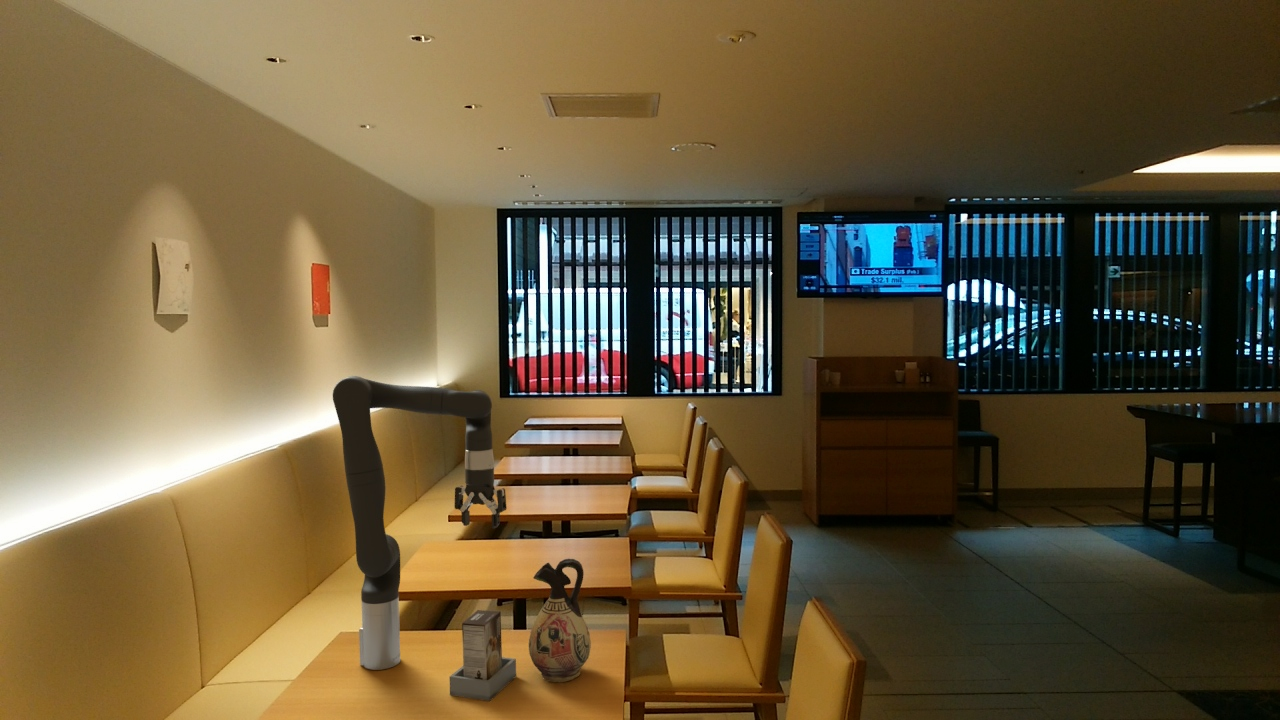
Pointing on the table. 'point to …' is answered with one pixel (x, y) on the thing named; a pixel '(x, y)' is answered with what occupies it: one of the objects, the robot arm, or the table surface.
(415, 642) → the table surface
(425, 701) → the table surface
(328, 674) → the table surface
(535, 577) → the ceramic jug
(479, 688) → the grey tub
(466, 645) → the coffee box
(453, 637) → the table surface
